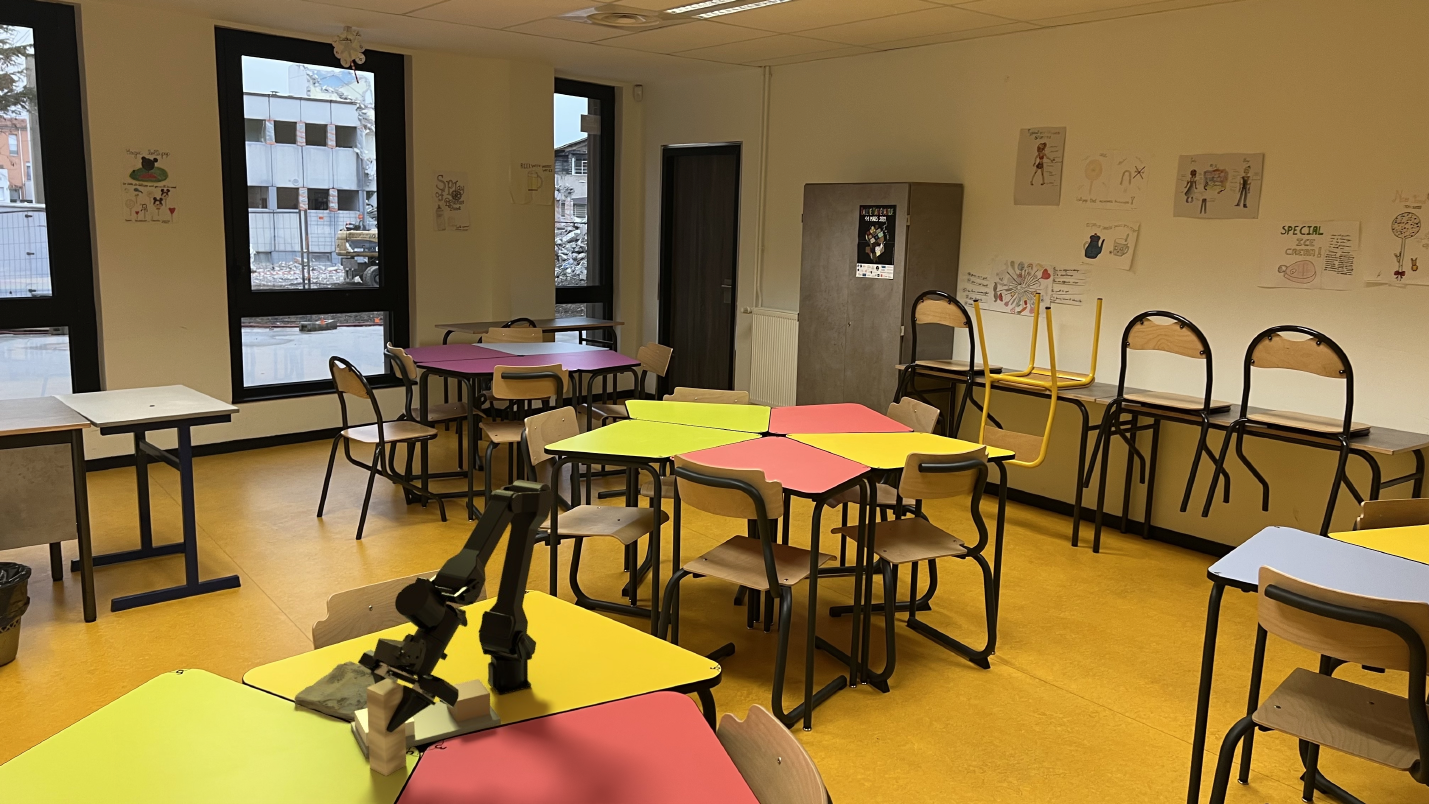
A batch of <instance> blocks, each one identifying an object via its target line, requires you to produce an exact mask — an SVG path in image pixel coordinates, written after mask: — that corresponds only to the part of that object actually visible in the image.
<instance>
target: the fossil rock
mask: <svg viewBox="0 0 1429 804" xmlns="http://www.w3.org/2000/svg"><path fill="white" fill-rule="evenodd" d="M370 672H371V671H370V670H368V669H367V668H365V667H364V666H362V665H360V664H359V663H358V662H357V663H356V662H354V661H351V660H349V661H346V662H344V663H338V664H336V666H335V667H334V668H333V669H332V670H331V671H330V672H328V674H325V675H324V676H323V677H321V678H320V679H318V680H317V681H316V682H315V683H313V684H312V685H308V686H306V687H305V688H304V689H302V690H301V691H299V692H298V693H297V694H295V696H294V697H293V698H294V704H295V705H298V706H299V705H300V706H302V707H305V708H307V709H310V710H316V711H319V712H321V713H323V714H325V715H328V716H333V717H338V718H343V719H348V720H352V721H355V711H358V710H362V709H367V688H368V687H370V686H372V685H374V684H375V682H374V678H373V676H372V675H371V674H370Z"/></svg>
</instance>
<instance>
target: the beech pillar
mask: <svg viewBox="0 0 1429 804" xmlns="http://www.w3.org/2000/svg"><path fill="white" fill-rule="evenodd" d="M403 685H404V684H401V683H399V682H394V681H392V680H390V679H385V680H383V681H381V682H378V683H376V684H374V685H372V686H370V687H368V688H367V711H368V736H369V758H368V759H369V769H371V770H373V771H375V772H378V773H379V774H381V775H383V776H385V777H387V776H389V775H391V774H393V773H394V772H396V771H398V770H400V769H401V768H403V767H405V766H407V748H406V739H405V723H403V724H402V725H401V726H400V727H398V728H397V729H396V730H394V731H393V732H388V731H387V730H386V729H387V726H388V724H389V722H390V720H391V718H392V716H393V714H394V712H395V711H396V709H397V707H398V705H399V703H400V702H401V700H402V698H403Z"/></svg>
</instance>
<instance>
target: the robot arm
mask: <svg viewBox="0 0 1429 804" xmlns="http://www.w3.org/2000/svg"><path fill="white" fill-rule="evenodd" d="M554 499H555V494H554V492H553V491H552V488H551V487H550V485H549V484H548V483H541V482H535V481H529V480H522V479H517V480H515V481H514V482H513V483H512V484H508V485H504V486H501V487H500V489H497V490H494V491H492V492H491V493H490V496H489V499H488V504H487V505H486V507H485V509H484V511H483V513H482V514H481V516H480V517H479V519H478V520H477V523H476V525H475V526H474V528H473V530H472V532H471V533H470V535H469V537H468V539H467V540H466V541H465V543H464V545H463V547H462V548H461V550H460V551H459V552H458V553H457V554H455V555H454V556H452V557H450V558H449V559H447V560H446V561H445V562H444V564H443V565H442V566H441V568H440V569H439V570H438V571H437V573H436V574H435V575H434V576H433V577H431V578H430V579H429V578H427V577H422V576H418V577H417V578H416V579H415V581H414V582H413V583H412V582H411V583H409V584H408V585H406V586H404V587H403V588H402V589H401V591H398V593H397V595H396V597H395V603H394V605H395V609H396V611H397V612H398V613H399V614H400V615H401V616H403V618H405V619H406V620H407V621H408V622H410V623H411V624H412V625H413V626H415V627H416V628H417V629H416V630H415V632H414V634H413V633H412V634H411V633H407V634H406V635H405V636H404V637H403V639H402V640H398V639H390V638H381V637H380V638H378V640H377V642H376V646H375V648H374V650H372V649H369V650H365V651H364V652H363V653H362V655H361V656H360V658H359V659H358V661H357V664H360V665H362V666H364V667H365V668H367V669H368V670H370V671H371V672H370V674H371V675H372V676H373V678H374V682H375V684H376V683H378V682H381V681H383V680H385V679H390V680H392V681H394V682H397V683H399V681H401V682H404V683H406V684H408V685H411V686H412V687H410V686H408V685H406V684H402V685H403V698H402V700H401V702H400V703H399V705H398V707H397V709H396V711H395V712H394V714H393V716H392V718H391V720H390V722H389V724H388V726H387V729H386V730H387V731H388V732H393V731H394V730H396V729H397V728H398V727H400V726H401V725H402V724H403V723H405V722H406V721H407V720H409V719H410V718H412V717H413V716H414V715H416V714H417V713H419V712H420V711H422V710H423V709H425V708H427V707H428V706H430V705H433V706H434V705H435V704H436V703H435V699H436V698H437V699H438V700H439V702H441V703H443V704H446V705H448V706H450V707H454V705H455V703H456V701H457V700H458V698H459V690H458V689H457V688H455V687H454V686H453V685H454V684H451V683H450V682H448V681H447V680H446V679H444V678H441V677H439V676H437V675H434V674H432V673H433V672H434V670H435V669H436V666H437V665H438V664H439V662H440V660H442V661H446V660H447V657H448V656H449V655H448V654H447V653H446V652H445V651H446V649H447V647H448V646H449V644H450V642H451V641H452V639H453V637H454V635H455V633H456V632H457V631H458V629H459V626H461V627H464V628H466V627H468V625H469V623H468V619H467V611H466V610H464V609H462V608H460V607H454V606H453V605H452V604H456V605H462V606H470V605H474V603H476V601H477V600H478V599H479V597H480V596H481V593H482V590H483V588H484V586H485V583H486V581H487V580H486V569H485V568H486V567H487V564H488V562H489V560H490V559H491V556H492V554H493V553H494V551H495V550H496V548H497V546H498V544H499V543H500V540H501V539H502V537H503V536H504V533H505V532H506V530H507V528H508V527H509V525H510V529H509V530H510V531H509V535H508V540H507V544H506V551H505V556H504V561H503V565H502V571H501V576H500V582H499V586H498V591H497V596H496V601H495V603H494V604H493V605H492V606H491V608H490V609H489V610H485V611H484V612H483V613H482V615H481V624H480V627H479V630H478V640H479V643H480V647H481V650H482V654H483V655H484V656H485V655H488V656H490V662H488V663H487V669H488V671H487V673H488V674H487V675H488V677H487V682H488V683H489V685H490V686H491V687H492V688H493V689H494V691H495V692H496V693H497V694H498V695H504V694H507V693H512V692H516V691H519V690H523V689H529V688H531V687H532V683H531V682H530V681H529V675H528V674H529V672H528V670H529V666H528V664H529V663H528V661H531V660H533V655H534V654H535V652H536V647H537V641H536V640H534V638H532V637H531V636H530V634H529V633H528V626H529V622H528V618H527V615H526V613H525V610H524V607H523V606H524V600H525V596H526V589H527V584H528V581H529V580H528V579H529V574H530V569H531V563H532V558H533V553H534V548H535V542H536V537H537V534H538V530H540V529H539V528H541V526H542V525H543V524H544V523H545V522H546V521H547V519H548V518H549V515H550V513H551V508H552V506H553V504H554ZM449 603H451V604H449ZM398 680H399V681H398Z"/></svg>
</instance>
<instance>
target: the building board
mask: <svg viewBox="0 0 1429 804" xmlns="http://www.w3.org/2000/svg"><path fill="white" fill-rule="evenodd" d="M452 685H453V686H454V687H455V688H457V689H458V690H459V698H458V700H457V701H456V703H455V705H454V707H450V706H448V705H446V704H443V703H441V702H440V701H436V702H435V701H434V702H435V703H436V704H435V705H434V706H433V705H430V706H428V707H427V708H425V709H423V710H422V711H420V712H419V713H417V714H416V715H414V716H413V717H412V718H410V719H409V720H407V721H406V722H405V739H406V749H408V748H412V747H416V746H420V745H424V744H427V743H432V742H437V741H440V740H443V739H444V740H445V739H447V738H451V737H454V736H455V737H456V736H459V735H463V734H467V733H470V732H475V731H478V730H482V729H485V728H486V729H487V728H490V727H493V726H497V725H501V722H502V720H501V719H502V718H501V717H500V716H499V715H498V713H497V712H496V710H495V709H494V708H493V706H492V705H491V692H490V691H489V690H488V687H486V686H485V685H484V683H483V682H482V681H481V679H479V678H477V679H472V680H467V681H463V682H459V683H454V684H452ZM350 729H351V732H352V733H353V735H354V737H355V738H356V741H357V743H358V744H359V747H360V749H361V751H362V753H363V754H364V757H365V759H369V736H368V711H367V709H362V710H358V711H355V720H354V721H352V722H350Z"/></svg>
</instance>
